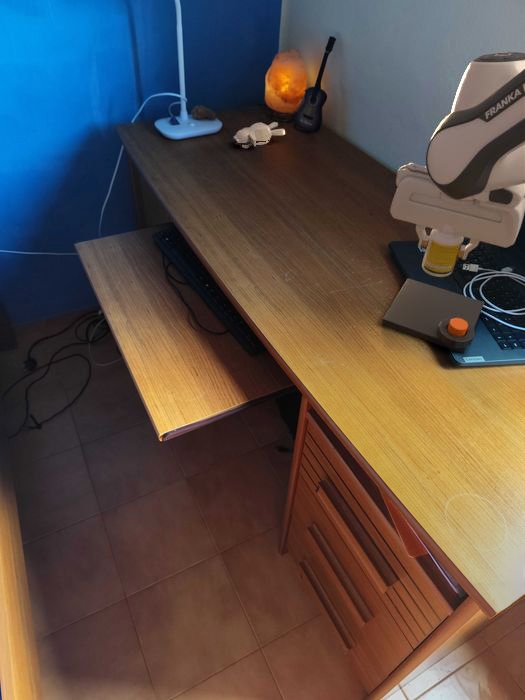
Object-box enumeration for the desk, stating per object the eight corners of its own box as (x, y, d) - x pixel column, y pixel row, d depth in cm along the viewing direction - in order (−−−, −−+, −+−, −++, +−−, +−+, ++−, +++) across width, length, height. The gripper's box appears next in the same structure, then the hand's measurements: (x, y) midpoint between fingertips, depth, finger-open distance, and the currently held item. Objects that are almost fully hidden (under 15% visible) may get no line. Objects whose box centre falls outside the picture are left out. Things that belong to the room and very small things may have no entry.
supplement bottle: (456, 277, 81) (473, 228, 74) (424, 278, 81) (439, 228, 74) (448, 259, 85) (463, 211, 78) (418, 259, 85) (431, 211, 78)
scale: (484, 308, 89) (490, 296, 87) (464, 358, 80) (469, 346, 78) (406, 283, 95) (409, 271, 92) (379, 327, 86) (382, 315, 84)
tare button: (467, 328, 81) (470, 321, 80) (462, 339, 80) (465, 332, 78) (450, 323, 83) (452, 315, 81) (445, 333, 81) (447, 325, 80)
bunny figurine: (229, 127, 142) (274, 114, 144) (232, 144, 146) (275, 130, 148) (239, 139, 136) (286, 124, 138) (242, 156, 140) (287, 141, 142)
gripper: (393, 168, 72) (378, 244, 82) (533, 199, 65) (499, 279, 75) (406, 153, 76) (391, 227, 86) (540, 181, 69) (507, 259, 79)
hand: (442, 251), depth 81 cm, fingers closed on supplement bottle, 5 cm apart
